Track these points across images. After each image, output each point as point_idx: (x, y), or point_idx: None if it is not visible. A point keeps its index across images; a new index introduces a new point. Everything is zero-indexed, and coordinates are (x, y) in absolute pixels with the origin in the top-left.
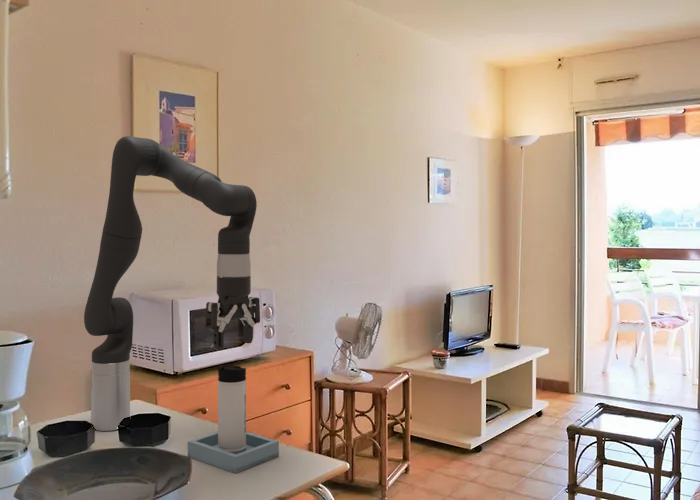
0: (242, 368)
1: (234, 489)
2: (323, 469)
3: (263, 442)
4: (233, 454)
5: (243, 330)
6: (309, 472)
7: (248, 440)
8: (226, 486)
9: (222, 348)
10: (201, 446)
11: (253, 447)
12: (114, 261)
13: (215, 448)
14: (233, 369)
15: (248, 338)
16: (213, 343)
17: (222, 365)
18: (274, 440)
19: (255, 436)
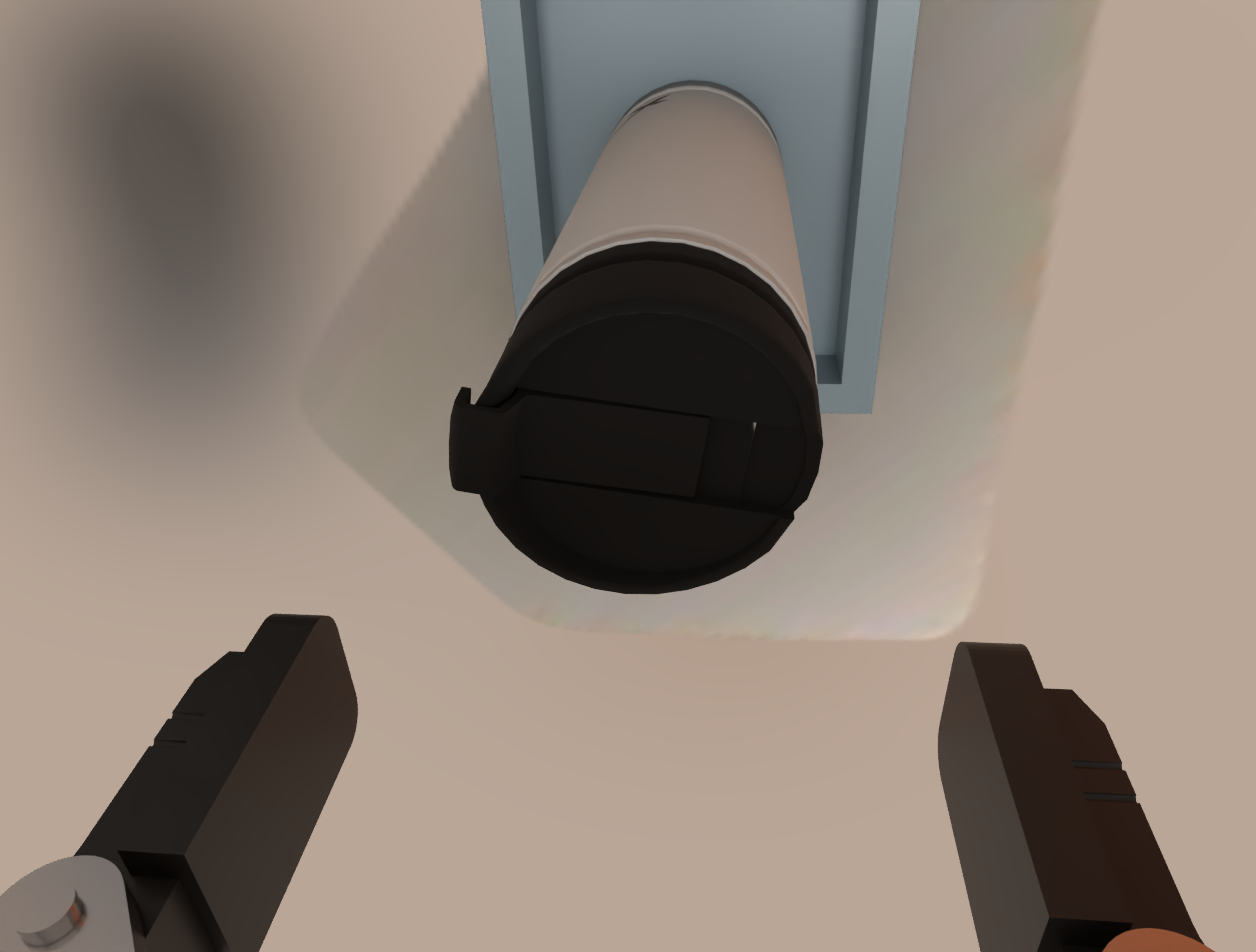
0: (755, 515)
1: (432, 484)
2: (844, 616)
3: (845, 311)
4: None
5: (1019, 833)
6: (779, 594)
7: (857, 164)
8: (423, 439)
9: (349, 713)
10: (492, 100)
11: (838, 215)
12: None
13: (528, 216)
14: (641, 481)
15: (959, 798)
16: (194, 688)
17: (622, 308)
18: (867, 387)
19: (857, 244)
